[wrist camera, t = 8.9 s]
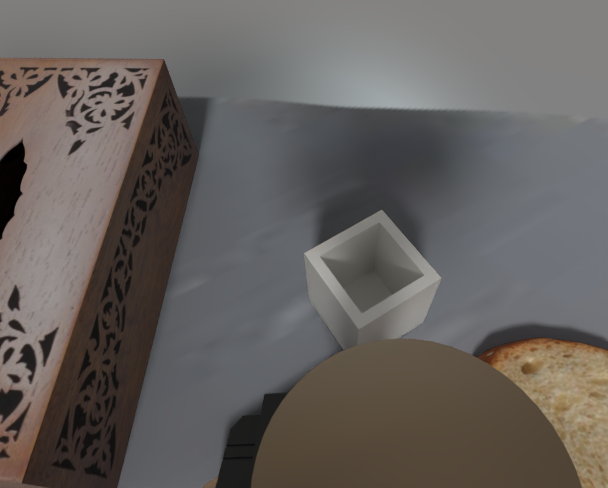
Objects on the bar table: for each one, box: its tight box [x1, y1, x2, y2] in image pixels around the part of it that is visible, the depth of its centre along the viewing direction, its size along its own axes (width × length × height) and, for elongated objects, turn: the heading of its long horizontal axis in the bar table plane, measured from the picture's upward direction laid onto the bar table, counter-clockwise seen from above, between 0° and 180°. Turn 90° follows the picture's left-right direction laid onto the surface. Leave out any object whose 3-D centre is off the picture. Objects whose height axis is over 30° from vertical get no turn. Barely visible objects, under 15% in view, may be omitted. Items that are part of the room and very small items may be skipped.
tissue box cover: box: [0, 58, 199, 488], centre depth 31 cm, size 26×14×10 cm, turn 175°
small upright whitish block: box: [304, 210, 441, 350], centre depth 30 cm, size 6×6×7 cm
